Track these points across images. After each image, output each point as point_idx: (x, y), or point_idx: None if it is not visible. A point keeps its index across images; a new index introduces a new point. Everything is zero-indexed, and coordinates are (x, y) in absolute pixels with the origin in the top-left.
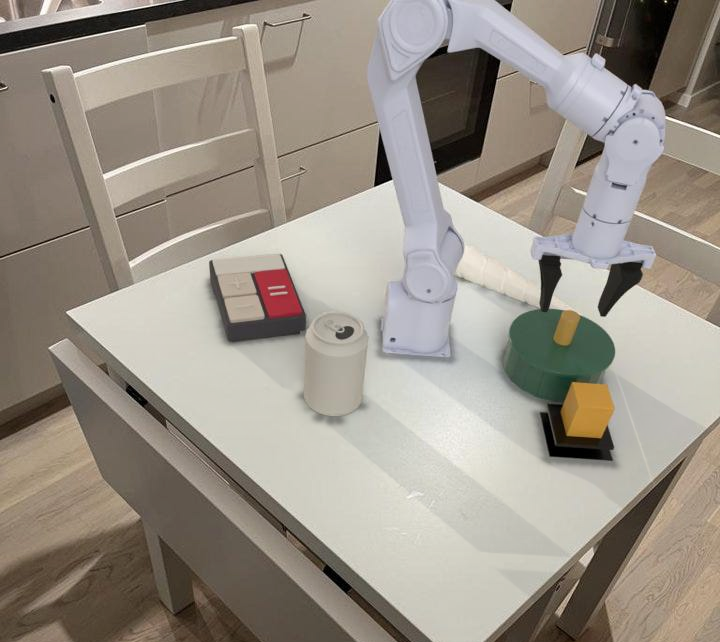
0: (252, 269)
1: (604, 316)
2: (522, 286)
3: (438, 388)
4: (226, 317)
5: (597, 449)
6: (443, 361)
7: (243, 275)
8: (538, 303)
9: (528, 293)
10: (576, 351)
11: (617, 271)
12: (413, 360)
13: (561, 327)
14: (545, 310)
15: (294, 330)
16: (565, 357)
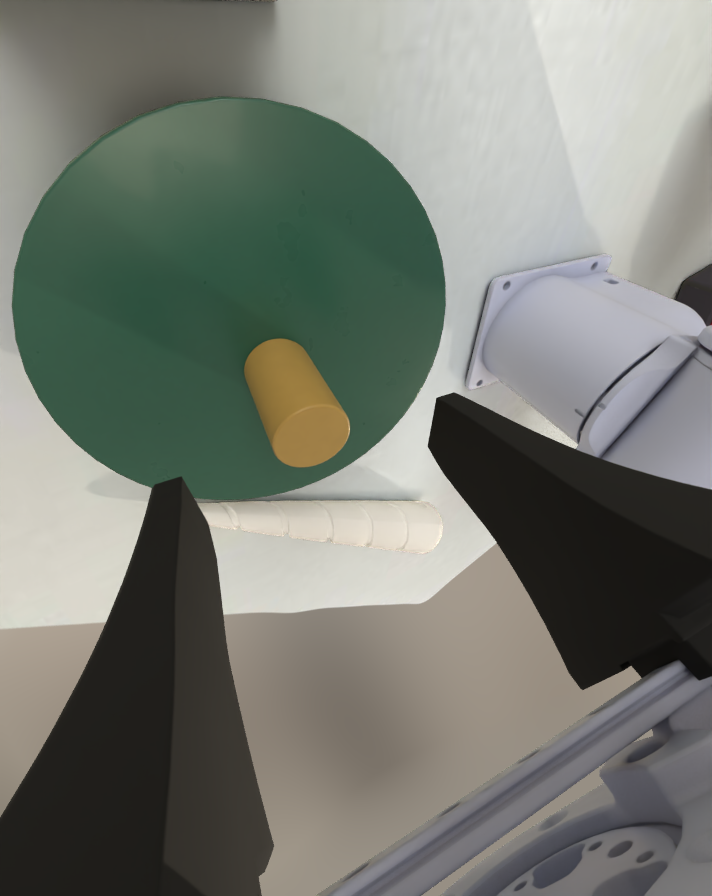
0: None
1: (159, 484)
2: (336, 525)
3: (552, 139)
4: None
5: None
6: (502, 268)
7: None
8: (294, 507)
9: (321, 517)
10: (216, 320)
11: (226, 825)
12: (559, 252)
13: (325, 383)
14: (453, 398)
15: (710, 272)
16: (262, 260)
